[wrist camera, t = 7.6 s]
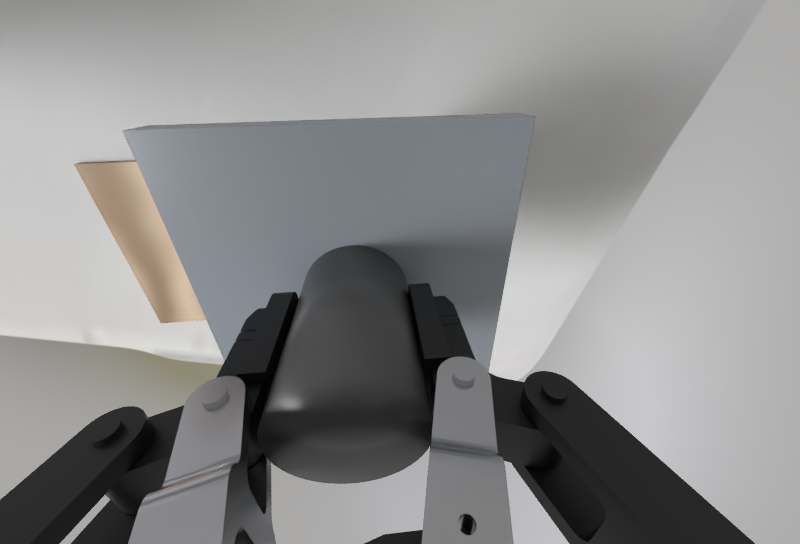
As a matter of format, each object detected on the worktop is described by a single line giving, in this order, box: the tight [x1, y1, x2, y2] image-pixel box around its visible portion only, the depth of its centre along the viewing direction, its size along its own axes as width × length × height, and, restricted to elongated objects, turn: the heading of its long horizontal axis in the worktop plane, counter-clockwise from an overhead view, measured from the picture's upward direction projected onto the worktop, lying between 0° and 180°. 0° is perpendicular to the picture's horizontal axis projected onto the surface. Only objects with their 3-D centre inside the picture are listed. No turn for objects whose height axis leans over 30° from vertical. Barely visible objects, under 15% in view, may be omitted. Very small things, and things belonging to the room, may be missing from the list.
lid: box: [123, 113, 535, 484], centre depth 10 cm, size 12×12×7 cm
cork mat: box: [74, 161, 206, 323], centre depth 29 cm, size 16×16×1 cm
